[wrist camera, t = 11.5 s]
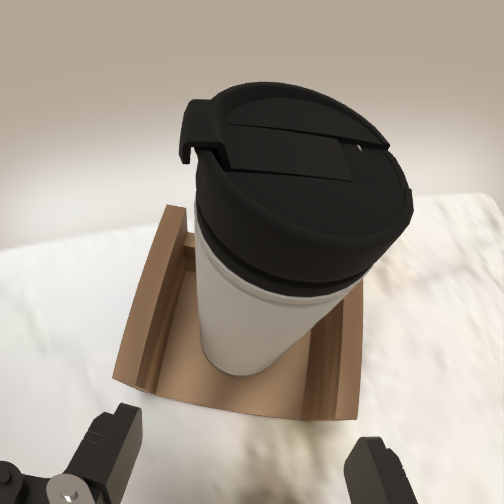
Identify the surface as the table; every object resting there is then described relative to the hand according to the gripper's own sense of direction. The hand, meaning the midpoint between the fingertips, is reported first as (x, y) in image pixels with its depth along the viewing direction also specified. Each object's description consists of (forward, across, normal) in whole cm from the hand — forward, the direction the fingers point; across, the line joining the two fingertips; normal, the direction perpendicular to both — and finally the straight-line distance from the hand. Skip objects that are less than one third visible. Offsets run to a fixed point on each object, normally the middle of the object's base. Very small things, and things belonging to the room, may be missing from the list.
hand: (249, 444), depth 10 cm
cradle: (+15, 0, +4) cm, 16 cm away
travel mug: (+14, 0, +4) cm, 15 cm away
